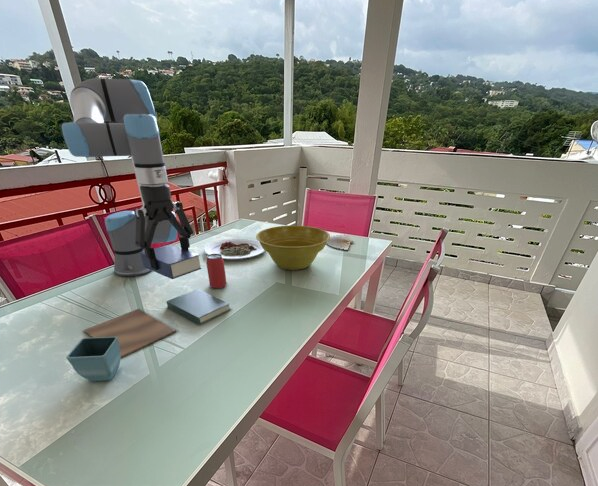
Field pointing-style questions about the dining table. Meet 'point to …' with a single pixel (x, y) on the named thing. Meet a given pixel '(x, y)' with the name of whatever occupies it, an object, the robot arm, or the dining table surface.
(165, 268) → the navy book
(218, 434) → the dining table surface
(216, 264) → the beer can
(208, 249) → the plated food
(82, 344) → the flower pot
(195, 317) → the green notebook
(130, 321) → the brown wooden board
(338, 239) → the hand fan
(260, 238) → the planter bowl
